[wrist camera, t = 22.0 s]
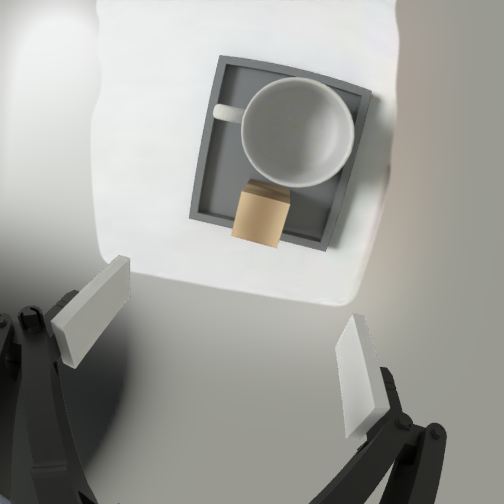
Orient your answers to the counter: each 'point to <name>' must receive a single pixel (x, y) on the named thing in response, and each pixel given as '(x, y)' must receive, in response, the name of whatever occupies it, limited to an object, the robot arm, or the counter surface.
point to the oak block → (261, 213)
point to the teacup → (294, 131)
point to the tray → (241, 170)
